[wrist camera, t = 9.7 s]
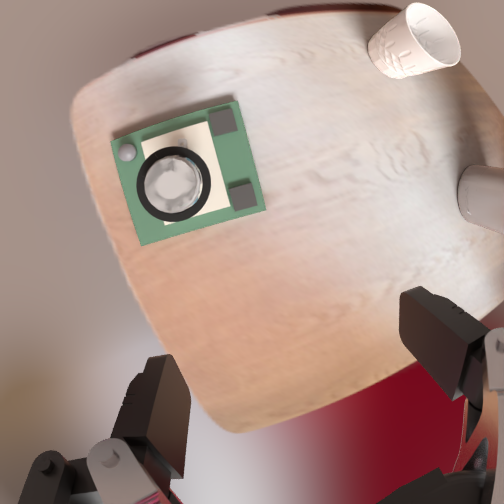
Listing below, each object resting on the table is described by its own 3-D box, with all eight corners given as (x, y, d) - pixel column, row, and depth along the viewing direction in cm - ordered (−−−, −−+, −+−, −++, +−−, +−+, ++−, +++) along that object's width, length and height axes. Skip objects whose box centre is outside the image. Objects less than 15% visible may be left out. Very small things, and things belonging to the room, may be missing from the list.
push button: (158, 143, 26) (127, 132, 17) (211, 137, 27) (205, 121, 17) (164, 208, 28) (137, 228, 19) (216, 202, 28) (214, 220, 19)
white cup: (420, 80, 28) (470, 65, 19) (378, 86, 28) (427, 67, 19) (398, 30, 26) (441, 5, 16) (353, 32, 26) (392, 0, 16)
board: (236, 103, 28) (238, 97, 25) (264, 208, 31) (268, 211, 29) (114, 142, 27) (106, 140, 25) (144, 243, 31) (138, 249, 29)
